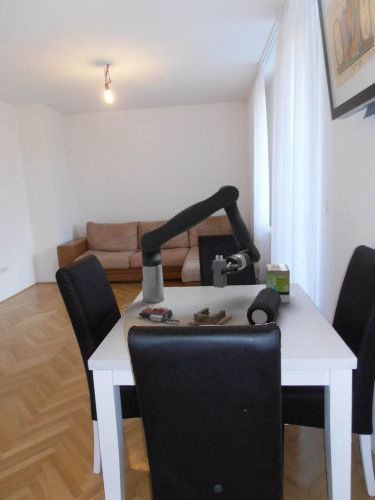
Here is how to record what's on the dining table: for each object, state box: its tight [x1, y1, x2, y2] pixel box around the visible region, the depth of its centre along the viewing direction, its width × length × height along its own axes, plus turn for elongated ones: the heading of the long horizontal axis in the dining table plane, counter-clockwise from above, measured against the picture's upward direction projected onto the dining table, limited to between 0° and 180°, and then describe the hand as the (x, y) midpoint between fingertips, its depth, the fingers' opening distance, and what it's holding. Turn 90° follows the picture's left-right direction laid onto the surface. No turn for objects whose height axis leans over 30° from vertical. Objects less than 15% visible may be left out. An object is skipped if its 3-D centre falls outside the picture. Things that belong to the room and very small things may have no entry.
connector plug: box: [212, 254, 228, 289], centre depth 145 cm, size 4×4×13 cm
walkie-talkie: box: [138, 305, 180, 323], centre depth 145 cm, size 9×4×20 cm
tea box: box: [265, 263, 291, 303], centre depth 163 cm, size 15×10×15 cm, turn 170°
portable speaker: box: [246, 287, 282, 326], centre depth 137 cm, size 26×10×10 cm, turn 158°
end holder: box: [187, 307, 232, 326], centre depth 138 cm, size 12×13×4 cm
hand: (216, 272), depth 142 cm, fingers closed on connector plug, 4 cm apart
